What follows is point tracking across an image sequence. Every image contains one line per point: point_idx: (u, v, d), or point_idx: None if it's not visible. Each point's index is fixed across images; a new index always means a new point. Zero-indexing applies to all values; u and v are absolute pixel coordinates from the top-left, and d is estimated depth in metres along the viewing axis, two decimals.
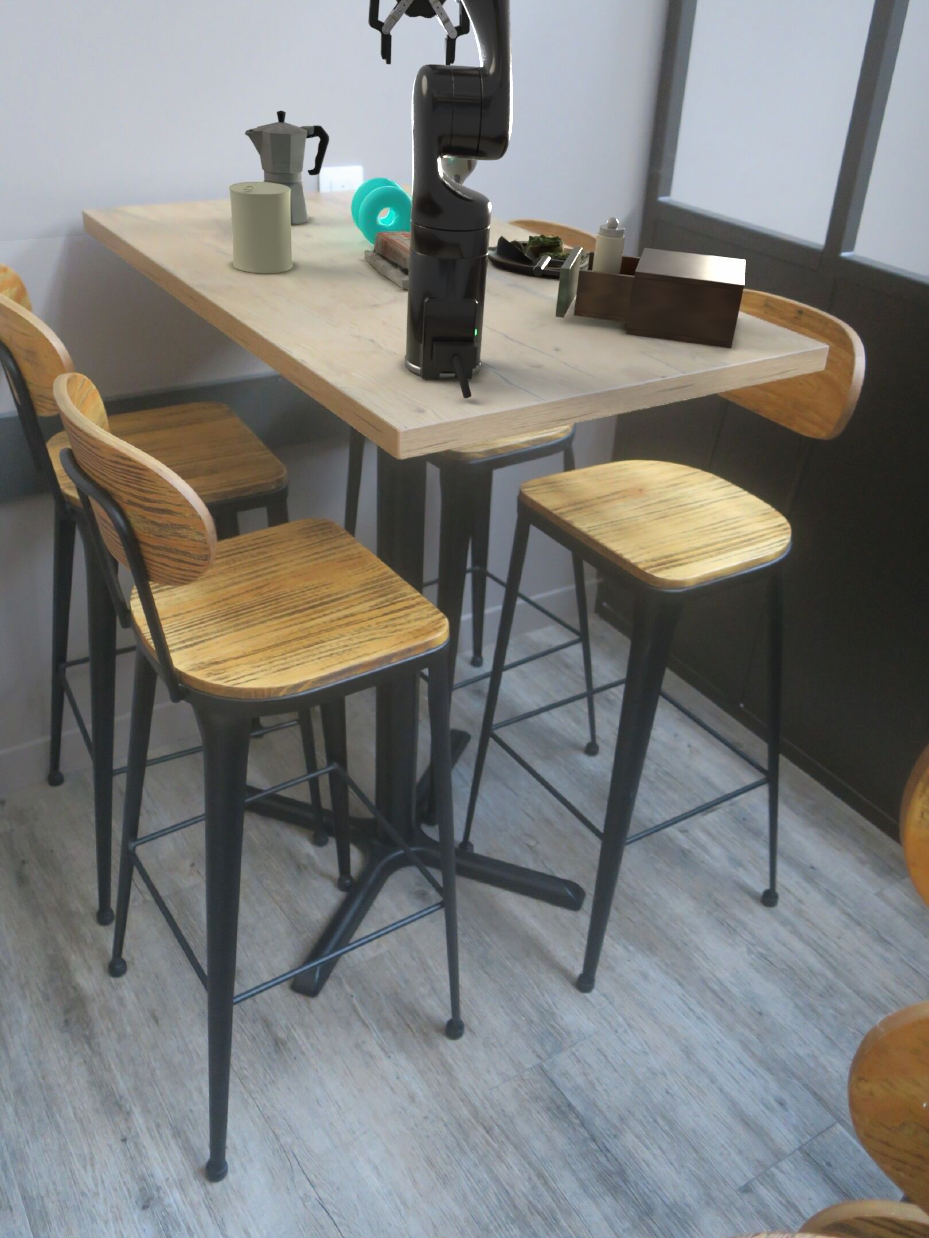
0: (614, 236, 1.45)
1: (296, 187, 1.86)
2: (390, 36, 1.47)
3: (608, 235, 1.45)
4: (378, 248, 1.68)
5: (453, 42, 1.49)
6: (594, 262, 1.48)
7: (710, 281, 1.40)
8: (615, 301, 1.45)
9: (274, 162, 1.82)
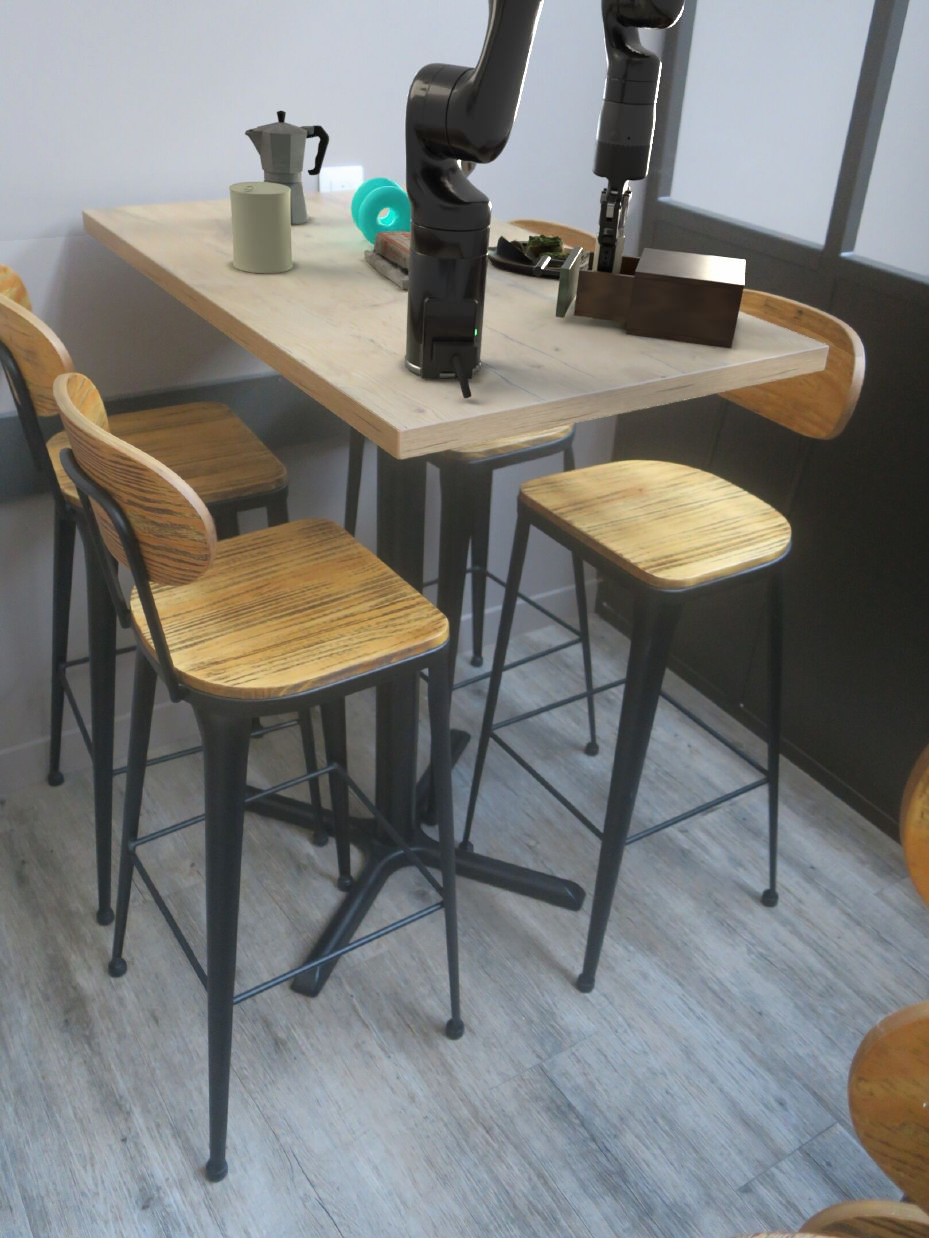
0: None
1: (296, 187, 1.86)
2: (615, 247, 1.45)
3: None
4: (378, 248, 1.68)
5: None
6: (594, 262, 1.48)
7: (710, 281, 1.40)
8: (615, 301, 1.45)
9: (274, 162, 1.82)
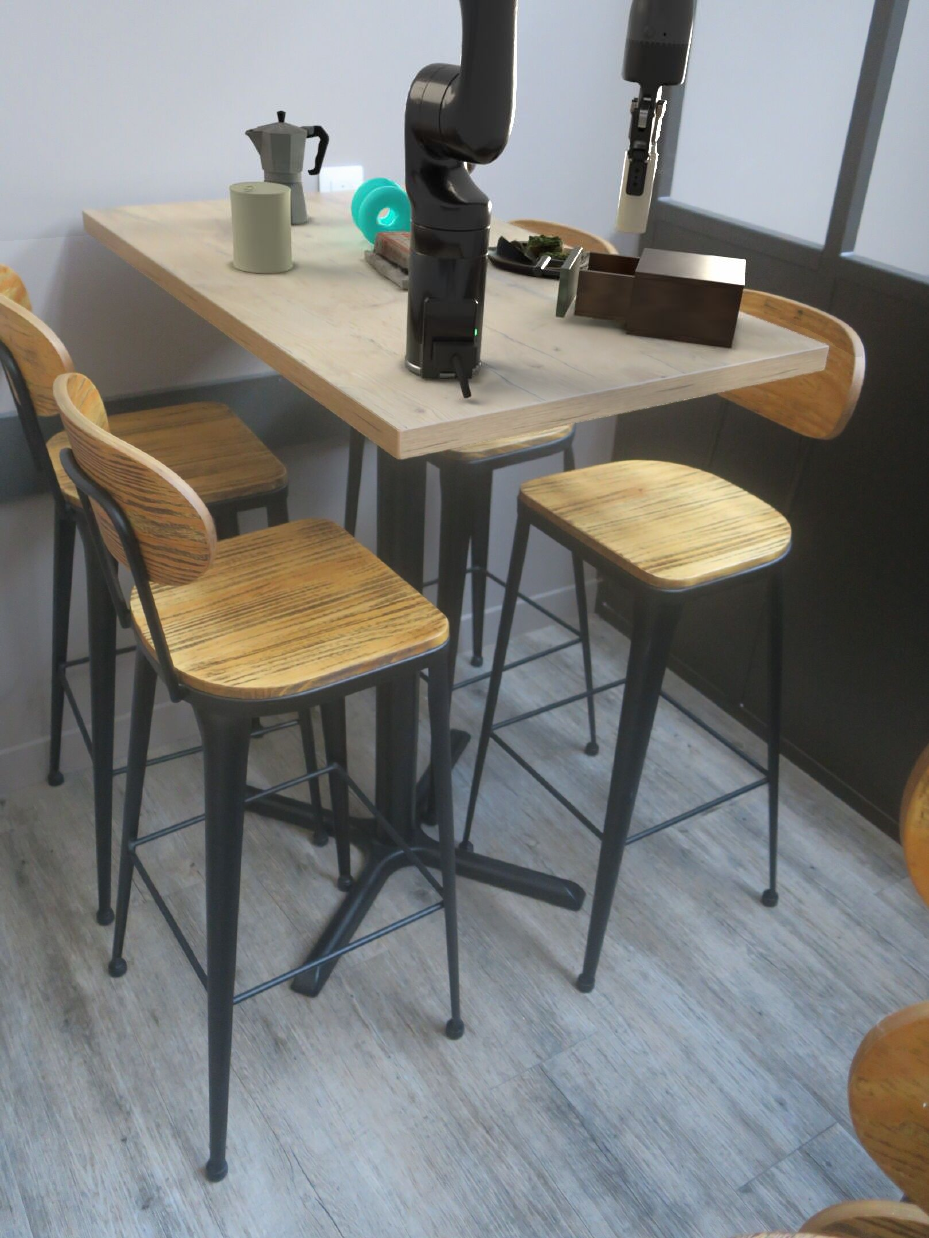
0: None
1: (296, 187, 1.86)
2: (647, 165, 1.28)
3: None
4: (378, 248, 1.68)
5: None
6: (622, 183, 1.31)
7: (710, 281, 1.40)
8: (615, 301, 1.45)
9: (274, 162, 1.82)
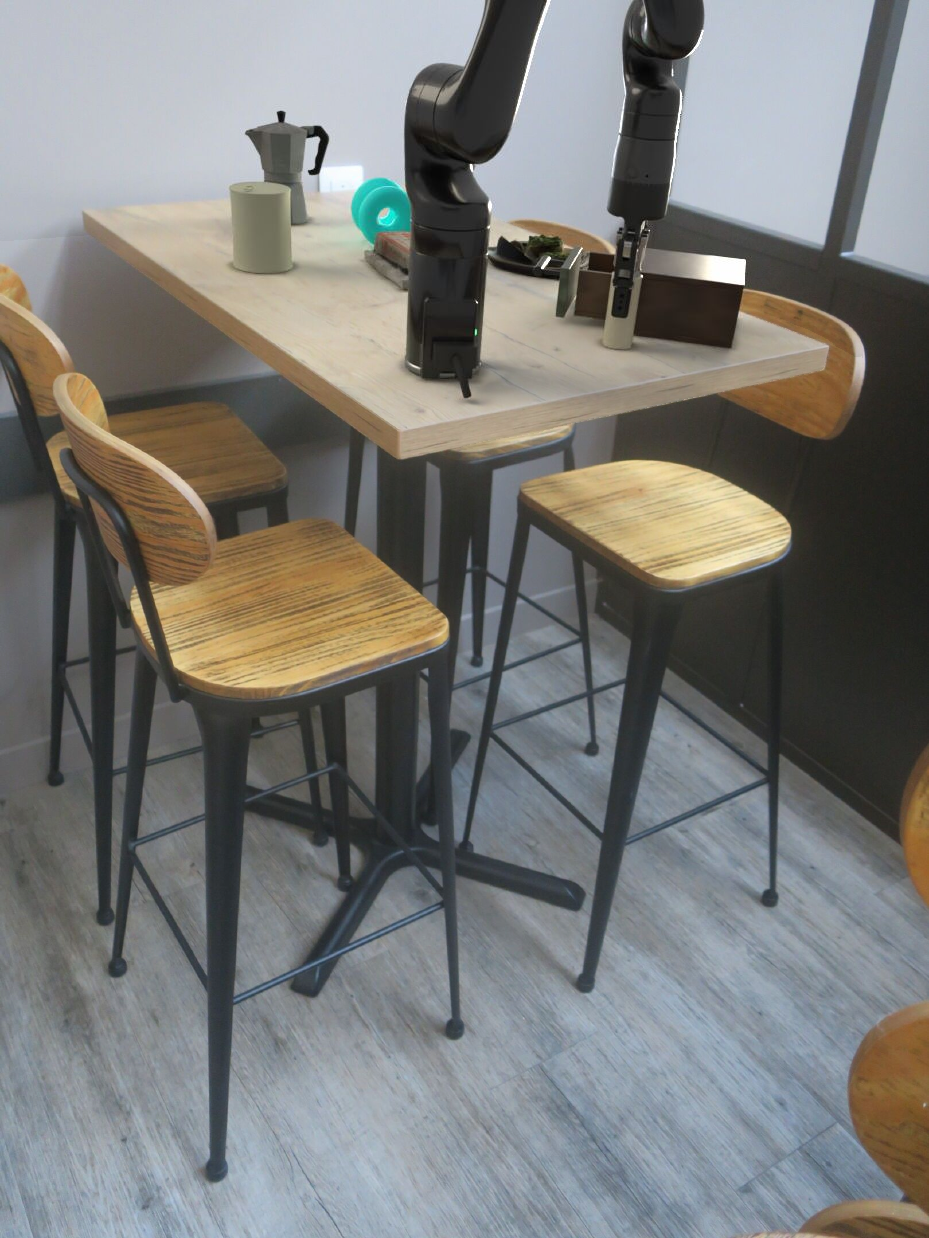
0: None
1: (296, 187, 1.86)
2: (631, 290, 1.34)
3: (624, 275, 1.35)
4: (378, 248, 1.68)
5: None
6: (608, 303, 1.38)
7: (710, 281, 1.40)
8: None
9: (274, 162, 1.82)
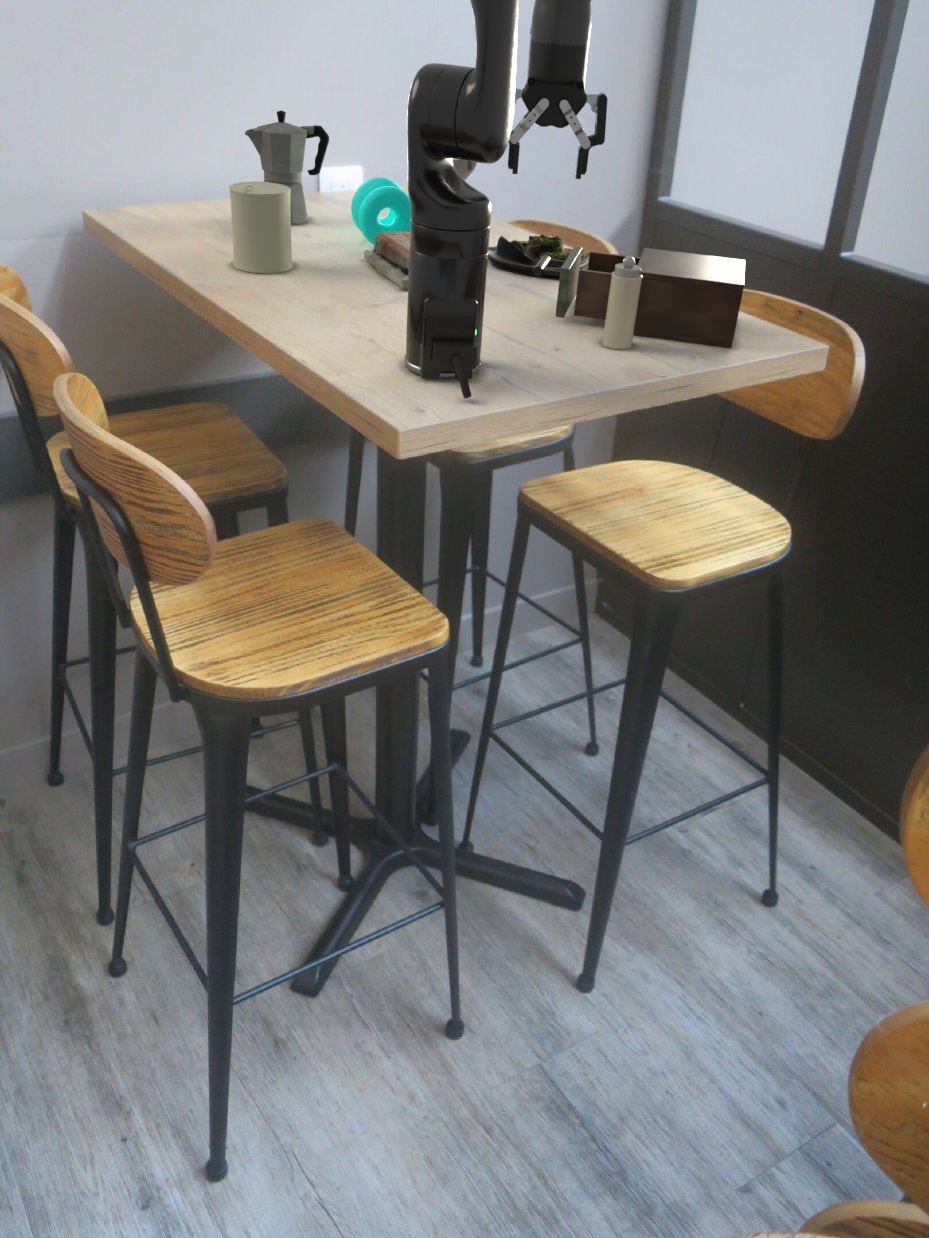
0: (631, 276, 1.35)
1: (296, 187, 1.86)
2: (518, 146, 1.38)
3: (624, 275, 1.35)
4: (378, 248, 1.68)
5: (586, 153, 1.39)
6: (608, 303, 1.38)
7: (710, 281, 1.40)
8: None
9: (274, 162, 1.82)
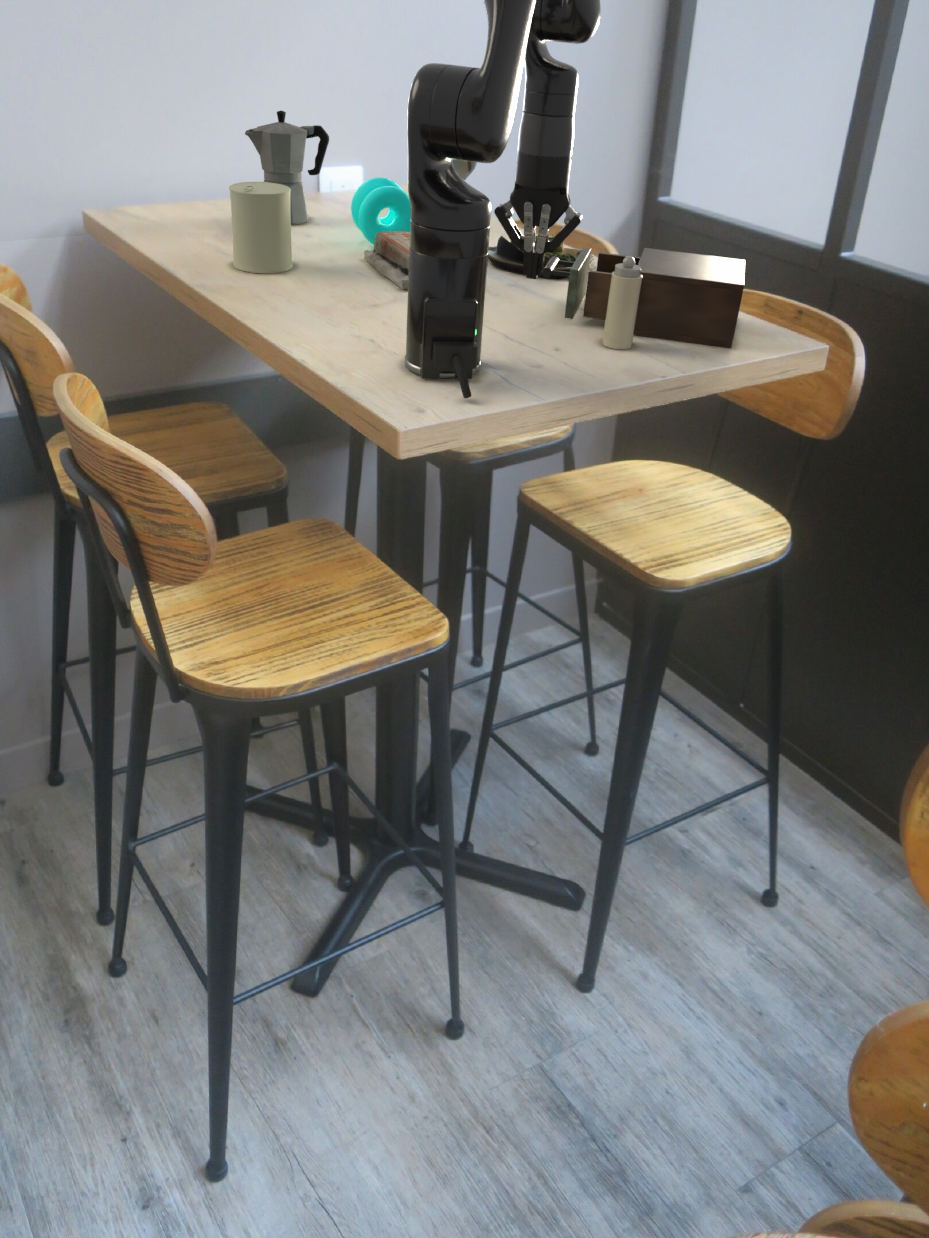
0: (631, 276, 1.35)
1: (296, 187, 1.86)
2: (532, 254, 1.49)
3: (624, 275, 1.35)
4: (378, 248, 1.68)
5: (541, 256, 1.50)
6: (608, 303, 1.38)
7: (710, 281, 1.40)
8: None
9: (274, 162, 1.82)
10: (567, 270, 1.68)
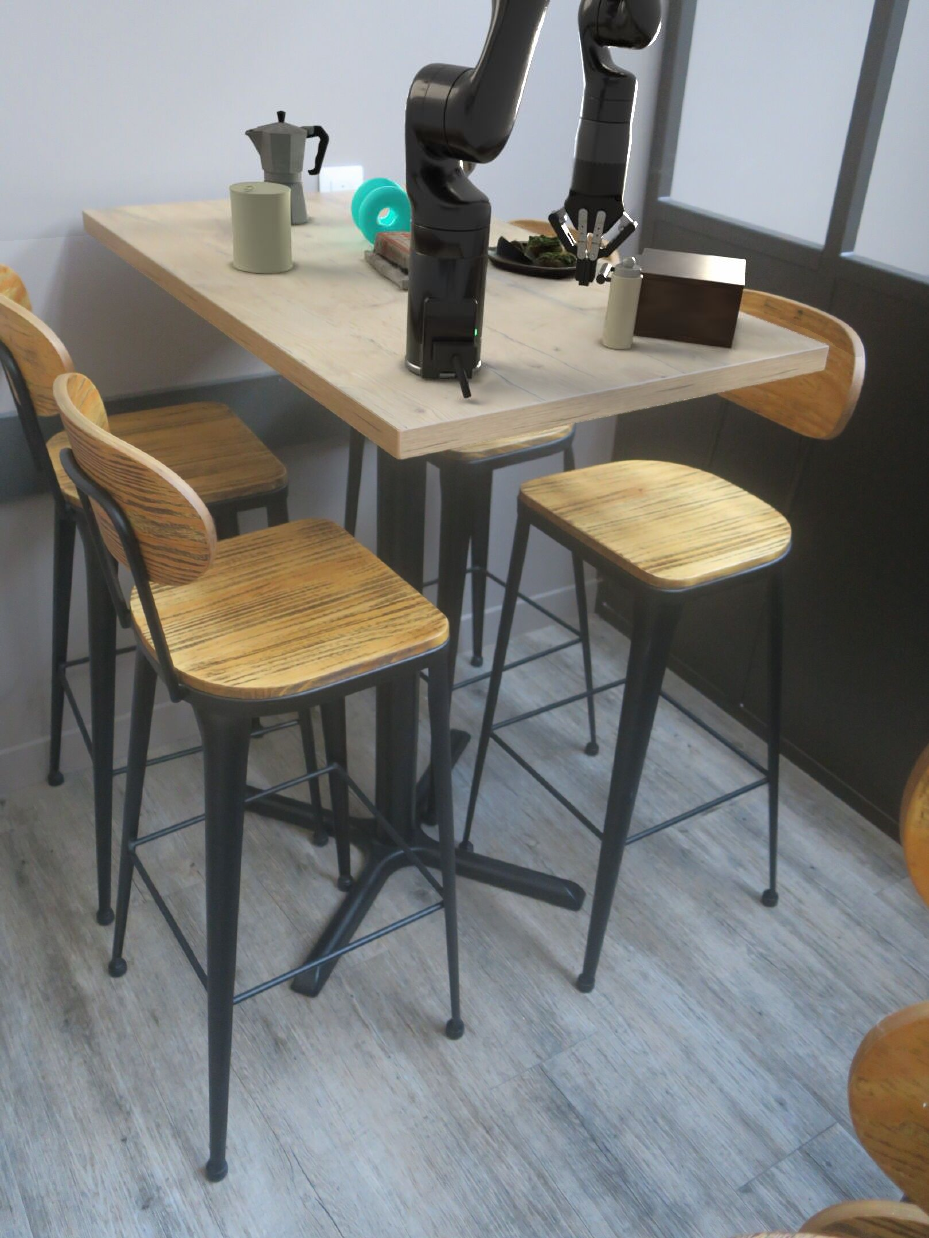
0: (631, 276, 1.35)
1: (296, 187, 1.86)
2: (585, 261, 1.48)
3: (624, 275, 1.35)
4: (378, 248, 1.68)
5: (594, 263, 1.49)
6: (608, 303, 1.38)
7: (710, 281, 1.40)
8: None
9: (274, 162, 1.82)
10: (567, 270, 1.68)
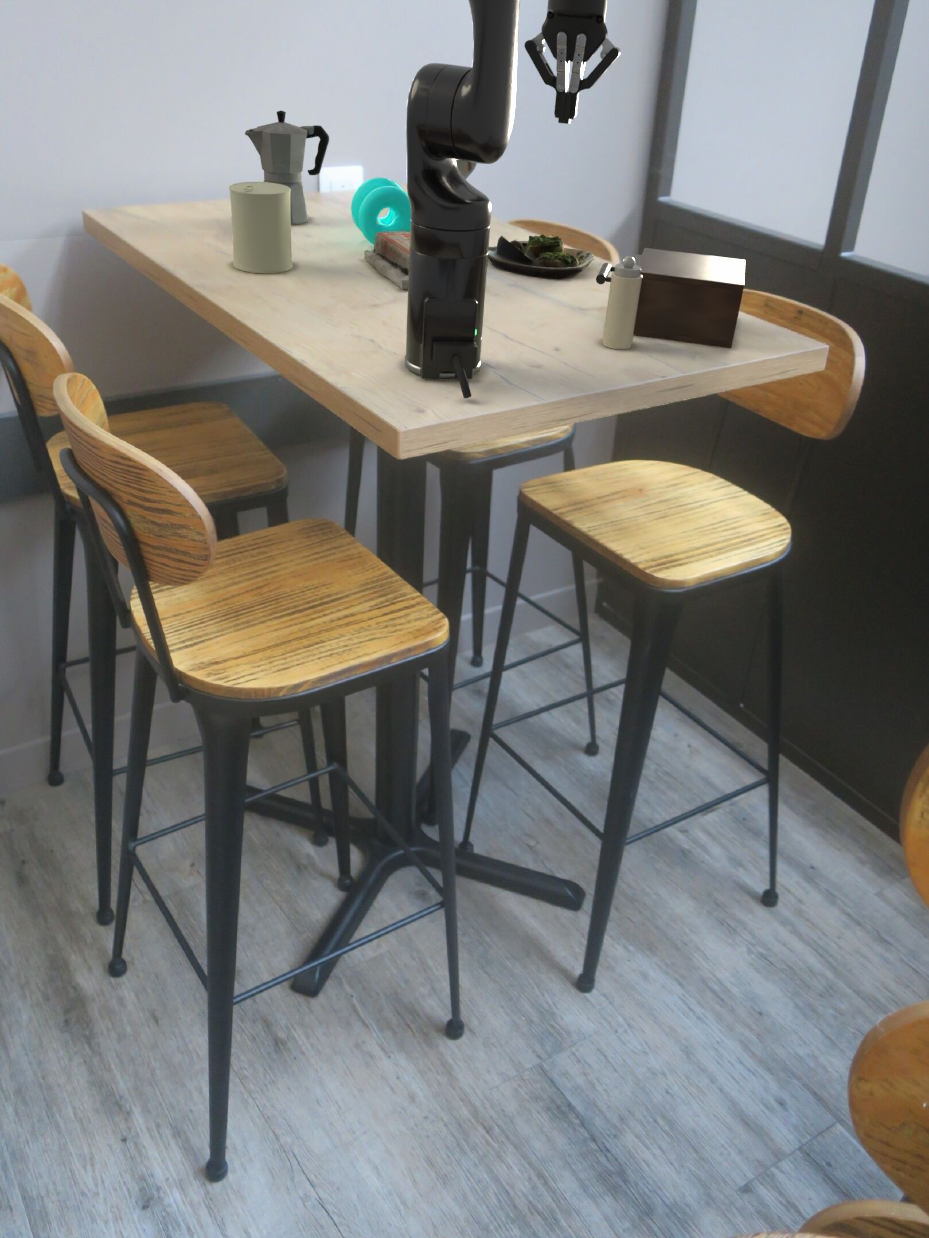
0: (631, 276, 1.35)
1: (296, 187, 1.86)
2: (564, 94, 1.38)
3: (624, 275, 1.35)
4: (378, 248, 1.68)
5: (575, 97, 1.38)
6: (608, 303, 1.38)
7: (710, 281, 1.40)
8: None
9: (274, 162, 1.82)
10: (567, 270, 1.68)
